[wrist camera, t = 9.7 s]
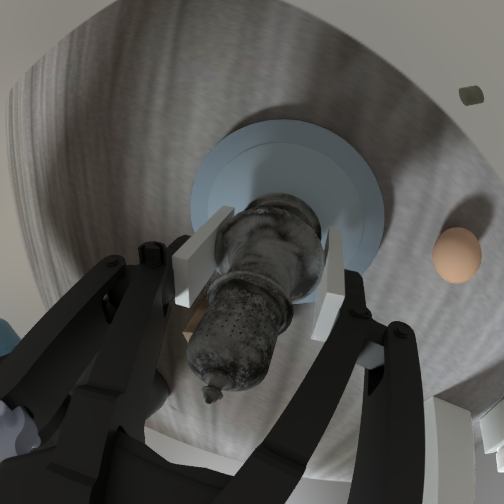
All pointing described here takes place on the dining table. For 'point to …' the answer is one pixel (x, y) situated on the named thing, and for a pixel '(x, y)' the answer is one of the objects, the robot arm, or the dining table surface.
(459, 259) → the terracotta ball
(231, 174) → the plate
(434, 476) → the milk
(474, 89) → the pale green cup
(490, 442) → the medicine bottle
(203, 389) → the stone chess piece
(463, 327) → the dining table surface
